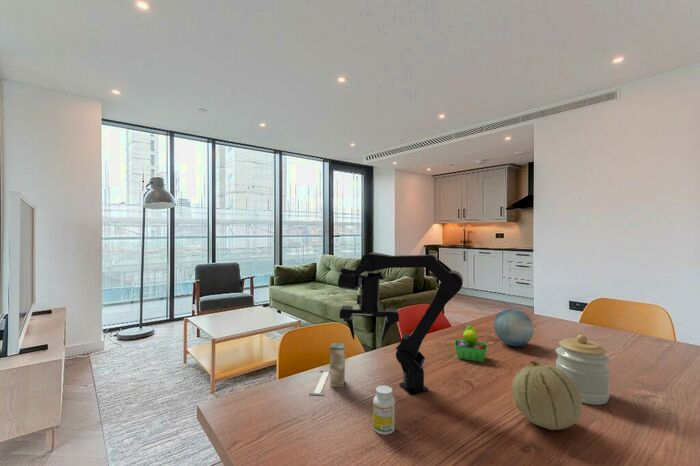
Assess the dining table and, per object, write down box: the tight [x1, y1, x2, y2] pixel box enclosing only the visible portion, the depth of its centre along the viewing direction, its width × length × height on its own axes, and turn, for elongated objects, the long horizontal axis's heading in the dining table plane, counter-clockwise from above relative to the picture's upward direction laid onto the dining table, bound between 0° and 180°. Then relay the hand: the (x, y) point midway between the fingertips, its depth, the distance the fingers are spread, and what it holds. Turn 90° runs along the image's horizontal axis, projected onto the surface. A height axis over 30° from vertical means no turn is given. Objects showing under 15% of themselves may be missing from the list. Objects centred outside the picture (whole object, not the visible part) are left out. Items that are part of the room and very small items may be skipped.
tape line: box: [308, 369, 330, 397], centre depth 101 cm, size 16×4×1 cm, turn 173°
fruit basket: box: [454, 325, 488, 363], centre depth 122 cm, size 11×9×11 cm
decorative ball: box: [493, 308, 535, 347], centre depth 135 cm, size 15×15×15 cm
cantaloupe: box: [511, 360, 583, 431], centre depth 80 cm, size 15×15×15 cm
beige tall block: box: [329, 342, 346, 388], centre depth 101 cm, size 4×4×12 cm
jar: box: [555, 334, 611, 406], centre depth 95 cm, size 13×13×18 cm
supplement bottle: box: [372, 384, 396, 436], centre depth 78 cm, size 5×5×10 cm
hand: (367, 340), depth 103 cm, fingers open, 9 cm apart
